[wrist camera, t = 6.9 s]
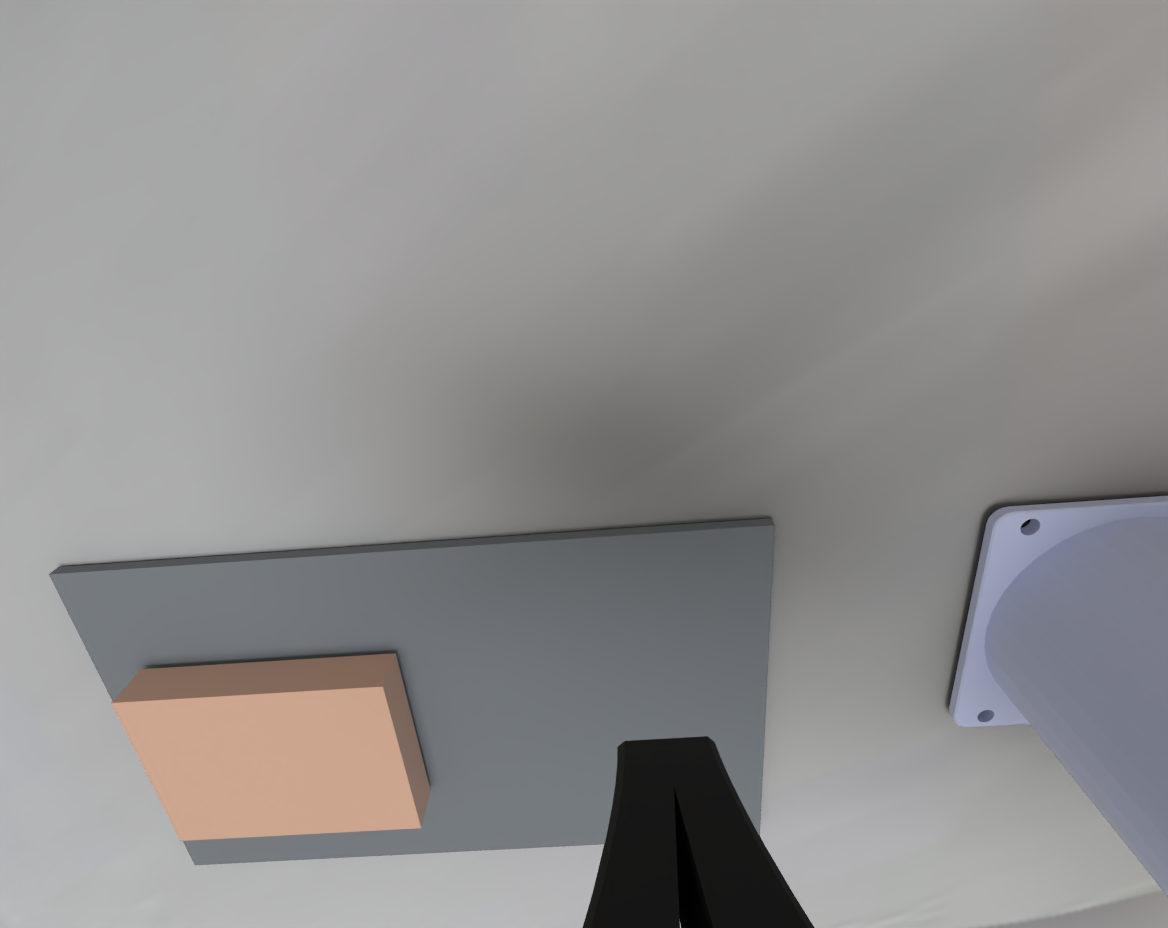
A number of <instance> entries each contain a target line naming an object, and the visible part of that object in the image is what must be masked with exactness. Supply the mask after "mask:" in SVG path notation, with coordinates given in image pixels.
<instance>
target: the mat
mask: <svg viewBox="0 0 1168 928" xmlns="http://www.w3.org/2000/svg"><path fill="white" fill-rule="evenodd" d="M774 527H775V525H774V523H773V521H772V519H771V518H766V519H752V520H737V521H722V522H708V523H693V524H678V525H664V526H649V527H634V528H620V529H605V530H591V531H576V532H561V533H547V534H532V535H517V536H503V537H488V538H473V539H459V540H444V541H429V542H415V543H400V544H385V545H371V546H356V547H341V548H327V549H312V550H298V551H283V552H268V553H254V554H239V555H224V556H210V557H195V558H180V559H166V560H151V561H136V562H122V563H107V564H92V565H78V566H63V567H58V568H57V569H56V570H54V571H53V572H52V573H50V574H49V575H50V577H51V579H52V581H53V583H54V585H55V587H56V589H57V591H58V593H59V595H60V597H61V599H62V601H63V603H64V605H65V607H66V609H67V611H68V613H69V615H70V617H71V619H72V621H73V623H74V625H75V627H76V629H77V631H78V633H79V635H80V637H81V639H82V641H83V643H84V645H85V647H86V649H87V651H88V653H89V655H90V657H91V659H92V661H93V663H94V665H95V667H96V669H97V671H98V673H99V675H100V677H101V679H102V681H103V683H104V685H105V687H106V689H107V691H108V693H109V695H110V697H111V699H112V701H113V700H114V699H115V698H116V697H117V696H118V695H119V694H120V693H121V691H122V690H123V689H124V688H125V687H126V686H127V685H128V684H129V682H130V681H131V680H132V679H133V678H134V677H135V676H136V675H137V673H138V672H139V671H140V670H141V669H152V668H168V667H184V666H201V665H217V664H233V663H249V662H265V661H281V660H297V659H313V658H329V657H345V656H361V655H377V654H393V653H396V656H397V660H398V664H399V668H400V672H401V676H402V680H403V684H404V688H405V692H406V696H407V700H408V703H409V707H410V711H411V715H412V719H413V723H414V727H415V731H416V735H417V739H418V743H419V747H420V751H421V755H422V759H423V763H424V767H425V770H426V774H427V778H428V782H429V786H430V790H431V791H430V795H429V799H428V803H427V807H426V811H425V815H424V819H423V823H422V827H421V828H415V829H397V830H378V831H359V832H340V833H321V834H302V835H283V836H264V837H245V838H226V839H207V840H188V841H183V842H184V844H185V846H186V848H187V850H188V852H189V854H190V856H191V858H192V860H193V862H194V864H195V865H208V864H227V863H247V862H266V861H286V860H305V859H325V858H344V857H364V856H383V855H403V854H422V853H442V852H461V851H481V850H500V849H520V848H539V847H559V846H578V845H598V844H605V840H606V836H607V831H608V825H609V820H610V815H611V809H612V804H613V797H614V790H615V783H616V772H617V747H618V746H619V745H620V744H622V743H623V742H624V741H631V740H649V739H667V738H684V737H702V736H708V737H709V738H710V739H712V740H713V741H714V742H715V744H716V747H717V749H718V752H719V754H720V757H721V759H722V762H723V764H724V766H725V769H726V771H727V773H728V775H729V777H730V780H731V782H732V784H733V786H734V788H735V790H736V792H737V794H738V796H739V798H740V800H741V802H742V804H743V806H744V808H745V810H746V812H747V814H748V815H749V817H750V819H751V821H752V823H753V825H754V827H755V829H756V831H757V832H758V834H759V836H760V819H761V798H762V777H763V757H764V736H765V715H766V694H767V673H768V652H769V631H770V610H771V590H772V569H773V548H774Z"/></svg>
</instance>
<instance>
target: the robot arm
mask: <svg viewBox="0 0 1168 928" xmlns="http://www.w3.org/2000/svg"><path fill="white" fill-rule="evenodd" d="M1030 519H1031V521H1030V523H1029V524H1028V525H1027V526H1025V527H1023V528H1021V526H1022V524H1023V523H1024V522H1025V521H1027V520H1030ZM949 715H950V716H951V718H952V719H953V721H954V722H955V723H956V725H958V726H960V727H982V726H1000V725H1017V724H1030V725H1031V726H1032V727H1033V729H1034V730H1035V731H1036V732H1037V734H1038V735H1039V736H1040V737H1041V739H1042V740H1043V741H1044V742H1045V744H1046V745H1047V746H1048V747H1049V749H1050V750H1051V751H1052V752H1053V754H1054V755H1055V756H1056V758H1057V759H1058V760H1059V761H1060V763H1061V764H1062V765H1063V766H1064V768H1065V769H1066V770H1067V771H1068V773H1069V774H1070V775H1071V776H1072V778H1073V779H1074V780H1075V781H1076V783H1077V784H1078V785H1079V786H1080V788H1081V789H1082V790H1083V791H1084V793H1085V794H1086V795H1087V796H1088V798H1089V799H1090V800H1091V801H1092V803H1093V804H1094V805H1095V806H1096V808H1097V809H1098V810H1099V811H1100V813H1101V814H1102V815H1103V816H1104V818H1105V819H1106V820H1107V821H1108V823H1109V824H1110V825H1111V826H1112V828H1113V829H1114V830H1115V831H1116V833H1117V834H1118V835H1119V836H1120V838H1121V839H1122V840H1123V841H1124V843H1125V844H1126V845H1127V846H1128V848H1129V849H1130V850H1131V851H1132V853H1133V854H1134V855H1135V856H1136V858H1137V859H1138V860H1139V861H1140V863H1141V864H1142V865H1143V866H1144V868H1145V869H1146V870H1147V871H1148V873H1149V874H1150V875H1151V876H1152V878H1153V879H1154V880H1155V881H1156V883H1157V884H1158V885H1159V886H1160V888H1161V889H1162V890H1163V891H1164V893H1165V894H1166V895H1167V896H1168V496H1156V497H1141V498H1127V499H1112V500H1097V501H1082V502H1068V503H1053V504H1038V505H1024V506H1009V507H1004V508H1000V509H999V510H997V511H995V512H994V513H993V514H992V515H991V516H990V517H989V519H988V521H987V524H986V529H985V533H984V538H983V543H982V548H981V553H980V558H979V563H978V568H977V573H976V578H975V583H974V588H973V593H972V597H971V602H970V607H969V612H968V617H967V622H966V627H965V632H964V637H963V642H962V647H961V652H960V657H959V662H958V666H957V671H956V676H955V681H954V686H953V691H952V696H951V701H950V706H949ZM679 918H680V920H679ZM680 923H681V928H814V926H813V925H812V923H811V922H810V920H809V918H808V917H807V915H806V914H805V912H804V910H803V909H802V907H801V906H800V904H799V902H798V901H797V899H796V898H795V896H794V894H793V893H792V891H791V889H790V888H789V886H788V884H787V882H786V881H785V879H784V877H783V876H782V874H781V872H780V871H779V869H778V867H777V865H776V864H775V862H774V860H773V859H772V857H771V855H770V854H769V852H768V850H767V848H766V847H765V845H764V843H763V841H762V840H761V838H760V836H759V834H758V832H757V831H756V829H755V827H754V825H753V823H752V821H751V819H750V817H749V815H748V814H747V812H746V810H745V808H744V806H743V804H742V802H741V800H740V798H739V796H738V794H737V792H736V790H735V788H734V786H733V784H732V782H731V780H730V777H729V775H728V773H727V771H726V769H725V766H724V764H723V762H722V759H721V757H720V754H719V752H718V749H717V747H716V744H715V742H714V741H713V740H712V739H710V738H709V737H708V736H702V737H684V738H667V739H649V740H631V741H624V742H623V743H622V744H620V745H619V746H618V747H617V772H616V783H615V790H614V797H613V804H612V809H611V815H610V820H609V825H608V831H607V836H606V840H605V844H604V848H603V853H602V857H601V861H600V865H599V869H598V874H597V878H596V882H595V886H594V890H593V894H592V898H591V901H590V905H589V908H588V912H587V915H586V918H585V922H584V925H583V928H680Z"/></svg>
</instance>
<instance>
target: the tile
mask: <svg viewBox="0 0 1168 928" xmlns="http://www.w3.org/2000/svg"><path fill="white" fill-rule="evenodd" d="M111 704H112V706H113V708H114V710H115V711H116V713H117V715H118V717H119V719H120V721H121V723H122V725H123V727H124V729H125V731H126V733H127V735H128V737H129V739H130V741H131V743H132V745H133V747H134V749H135V751H136V753H137V755H138V757H139V759H140V761H141V763H142V765H143V767H144V769H145V771H146V773H147V775H148V777H149V779H150V781H151V783H152V785H153V787H154V789H155V791H156V793H157V795H158V797H159V799H160V801H161V803H162V805H163V807H164V809H165V811H166V813H167V815H168V817H169V819H170V821H171V823H172V825H173V827H174V829H175V831H176V833H177V834H178V836H179V838H180V840H181V841H188V840H207V839H226V838H245V837H264V836H283V835H302V834H321V833H340V832H359V831H378V830H397V829H415V828H421V827H422V823H423V819H424V815H425V811H426V807H427V803H428V799H429V795H430V791H431V790H430V786H429V782H428V778H427V774H426V770H425V767H424V763H423V759H422V755H421V751H420V747H419V743H418V739H417V735H416V731H415V727H414V723H413V719H412V715H411V711H410V707H409V703H408V700H407V696H406V692H405V688H404V684H403V680H402V676H401V672H400V668H399V664H398V660H397V656H396V653H393V654H377V655H361V656H345V657H329V658H313V659H297V660H281V661H265V662H249V663H233V664H217V665H201V666H184V667H168V668H152V669H141V670H140V671H139V672H138V673H137V675H136V676H135V677H134V678H133V679H132V680H131V681H130V682H129V684H128V685H127V686H126V687H125V688H124V689H123V690H122V691H121V693H120V694H119V695H118V696H117V697H116V698H115V699H114V700H113V702H112V703H111Z"/></svg>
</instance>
